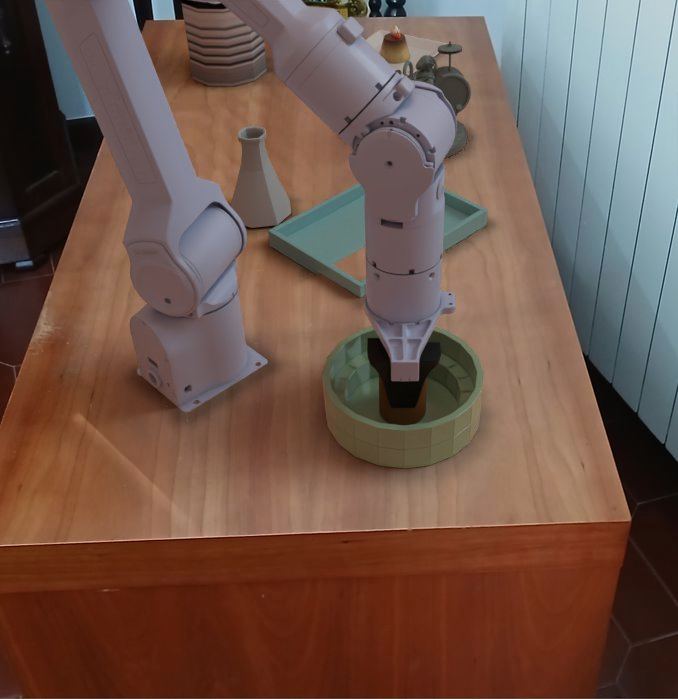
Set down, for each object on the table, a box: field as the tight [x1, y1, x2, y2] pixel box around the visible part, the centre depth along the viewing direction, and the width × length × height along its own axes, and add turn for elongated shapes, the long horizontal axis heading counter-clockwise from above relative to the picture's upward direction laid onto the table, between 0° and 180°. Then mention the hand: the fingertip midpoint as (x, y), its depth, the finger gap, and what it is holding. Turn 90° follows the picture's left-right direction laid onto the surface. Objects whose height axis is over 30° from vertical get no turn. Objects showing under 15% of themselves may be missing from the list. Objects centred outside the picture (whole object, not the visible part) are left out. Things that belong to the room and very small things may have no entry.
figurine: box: [395, 41, 472, 159], centre depth 112 cm, size 11×11×12 cm
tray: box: [267, 182, 489, 299], centre depth 100 cm, size 19×14×2 cm
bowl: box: [322, 325, 485, 469], centre depth 78 cm, size 13×13×5 cm
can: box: [180, 0, 268, 88], centre depth 130 cm, size 11×11×12 cm
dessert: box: [364, 25, 449, 77], centre depth 133 cm, size 12×12×5 cm
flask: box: [230, 125, 292, 229], centre depth 101 cm, size 7×7×10 cm
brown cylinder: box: [379, 375, 427, 425], centre depth 76 cm, size 4×4×10 cm
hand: (402, 386), depth 77 cm, fingers closed on brown cylinder, 4 cm apart
